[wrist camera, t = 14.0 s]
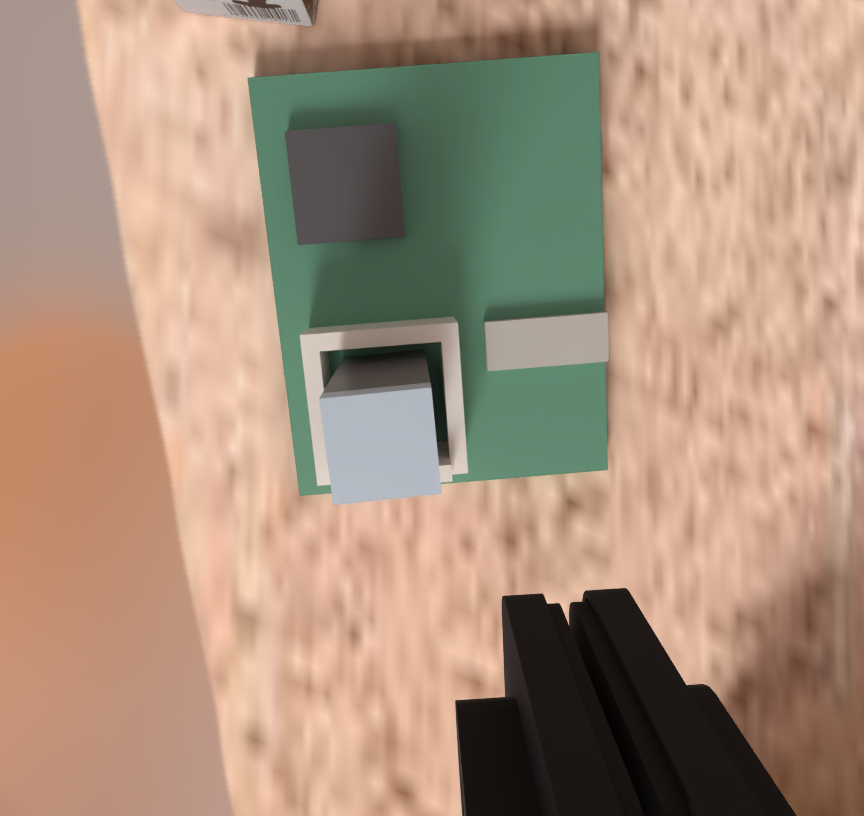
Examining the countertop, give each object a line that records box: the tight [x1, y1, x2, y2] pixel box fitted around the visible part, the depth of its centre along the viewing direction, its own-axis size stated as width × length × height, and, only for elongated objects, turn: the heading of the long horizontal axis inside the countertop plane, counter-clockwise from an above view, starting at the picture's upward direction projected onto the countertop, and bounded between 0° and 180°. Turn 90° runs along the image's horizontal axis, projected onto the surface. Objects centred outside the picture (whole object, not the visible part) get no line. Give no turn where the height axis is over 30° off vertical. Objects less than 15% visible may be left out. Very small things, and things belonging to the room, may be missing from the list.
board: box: [248, 52, 609, 496], centre depth 34 cm, size 20×16×2 cm
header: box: [300, 316, 468, 486], centre depth 33 cm, size 7×7×4 cm
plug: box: [319, 349, 442, 505], centre depth 30 cm, size 4×4×10 cm
